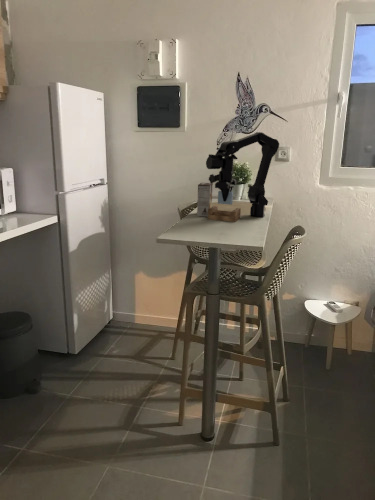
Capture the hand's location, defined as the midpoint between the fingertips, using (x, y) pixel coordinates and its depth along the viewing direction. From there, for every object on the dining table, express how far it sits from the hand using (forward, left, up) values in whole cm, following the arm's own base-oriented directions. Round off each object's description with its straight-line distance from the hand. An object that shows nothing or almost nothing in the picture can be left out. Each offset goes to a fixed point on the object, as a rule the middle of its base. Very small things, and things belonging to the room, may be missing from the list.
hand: (225, 201), depth 196 cm
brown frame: (0, 0, -9) cm, 9 cm away
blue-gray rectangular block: (0, 0, -1) cm, 1 cm away
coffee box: (+12, -5, -9) cm, 16 cm away
